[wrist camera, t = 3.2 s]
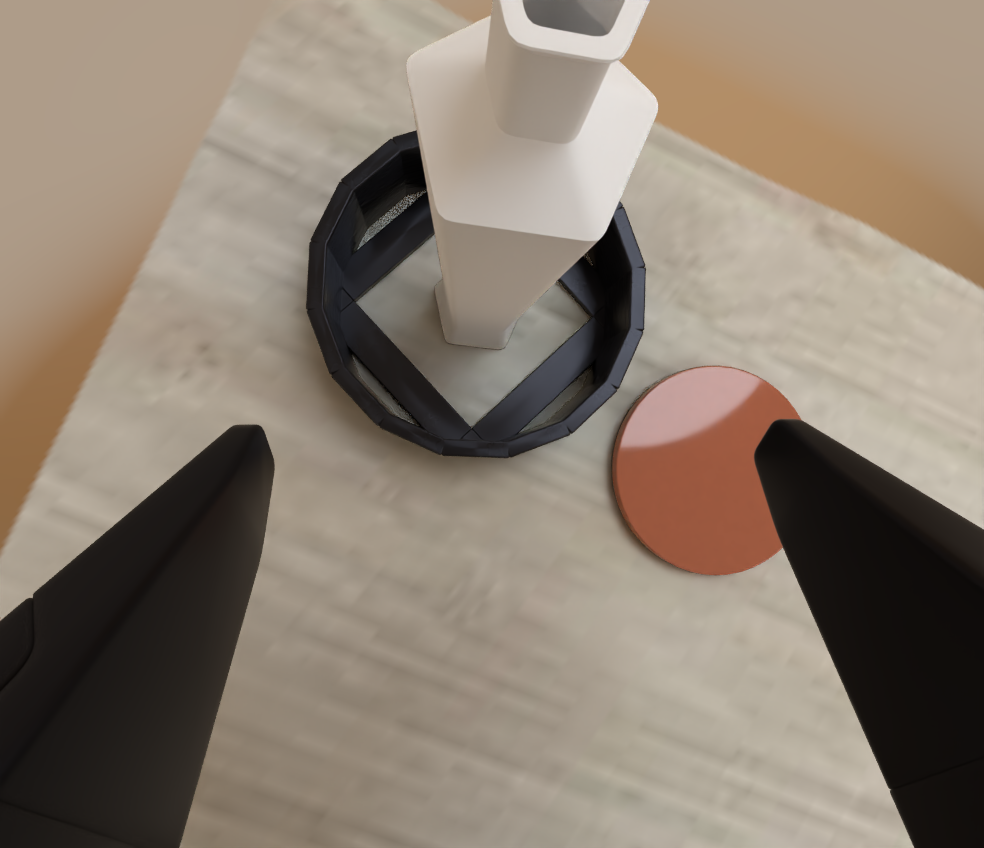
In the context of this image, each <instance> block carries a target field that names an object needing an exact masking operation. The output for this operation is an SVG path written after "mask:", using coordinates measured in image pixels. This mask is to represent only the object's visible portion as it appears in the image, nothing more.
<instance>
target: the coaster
mask: <svg viewBox="0 0 984 848" xmlns="http://www.w3.org/2000/svg"><path fill="white" fill-rule="evenodd" d="M778 419H799V420H801V418H800V417H799V415H798V413H797V412H796V410H795V409H794V407H793V406H792V405H791V404H790V402H789V401H788V400H787V399H786V398H785V397H784V396H783V395H782V394H781V393H780V392H779V391H778V390H777V389H776V388H774V387H773V386H772V385H771V384H769V383H768V382H766V381H765V380H763V379H761V378H759V377H758V376H756V375H753V374H751V373H749V372H746V371H744V370H740V369H736V368H732V367H725V366H702V367H695V368H691V369H688V370H684V371H681V372H677V373H675V374H672V375H670V376H668V377H666V378H664V379H662V380H661V381H659V382H657V383H656V384H654V385H653V386H652V387H650V388H649V389H648V390H647V391H646V392H645V393H643V394H642V396H641V397H640V398H639V399H638V400H637V401H636V402H635V403H634V405H633V406H632V407H631V409H630V410H629V412H628V413H627V415H626V417H625V419H624V421H623V423H622V425H621V427H620V429H619V432H618V435H617V438H616V442H615V446H614V451H613V459H612V480H613V486H614V492H615V496H616V499H617V503H618V506H619V508H620V511H621V513H622V515H623V517H624V519H625V521H626V523H627V524H628V526H629V528H630V529H631V531H632V532H633V533H634V535H635V536H636V537H637V538H638V540H639V541H640V542H641V543H642V544H643V545H644V546H645V547H647V548H648V549H649V550H650V551H651V552H653V553H654V554H655V555H657V556H658V557H659V558H661V559H663V560H665V561H667V562H669V563H670V564H672V565H674V566H676V567H679V568H681V569H684V570H687V571H690V572H694V573H699V574H706V575H727V574H732V573H737V572H742V571H745V570H747V569H750V568H753V567H755V566H757V565H759V564H761V563H763V562H765V561H766V560H768V559H769V558H771V557H772V556H773V555H775V554H776V553H777V552H778V551H779V550H781V549H782V548H783V546H782V544H781V542H780V539H779V537H778V534H777V531H776V528H775V526H774V523H773V520H772V516H771V513H770V510H769V507H768V504H767V501H766V497H765V494H764V491H763V488H762V485H761V482H760V478H759V475H758V472H757V469H756V466H755V462H754V453H755V449H756V447H757V446H758V444H759V443H760V441H761V439H762V438H763V436H764V435H765V433H766V431H767V430H768V428H769V426H770V425H771V424H772V423H773V422H774V421H775V420H778Z"/></svg>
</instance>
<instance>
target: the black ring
mask: <svg viewBox="0 0 984 848" xmlns="http://www.w3.org/2000/svg"><path fill="white" fill-rule="evenodd" d="M341 181H342V182H339V184H338V186H337V188H336V190H335V192H334V194H333V196H332V198H331V200H330V202H329V204H328V206H327V208H326V210H325V212H324V214H323V216H322V218H321V220H320V222H319V224H318V226H317V228H316V230H315V232H314V234H313V236H312V238H311V242H310V244H309V263H308V282H307V301H306V309H307V314H308V317H309V319H310V322H311V325H312V327H313V330H314V333H315V335H316V338H317V341H318V344H319V346H320V349H321V352H322V354H323V357H324V360H325V363H326V365H327V368H328V371H329V373H330V374H331V375H332V378H333V379H334V380H335V381H336V382H337V383H338V384H339V385H340V386H341V388H342V389H343V390H344V391H345V392H346V393H347V394H348V395H349V396H350V397H351V398H352V399H353V400H354V401H355V403H356V404H357V405H358V406H359V407H360V408H361V409H362V410H363V411H364V412H365V413H366V414H367V415H368V416H369V418H370V419H371V420H372V421H373V422H374V423H375V424H376V425H377V426H379V427H380V428H382V429H384V430H386V431H388V432H390V433H393V434H395V435H397V436H399V437H401V438H404V439H406V440H408V441H410V442H412V443H415V444H417V445H419V446H421V447H423V448H426V449H428V450H430V451H432V452H434V453H437V454H439V455H441V454H442V455H443V456H464V457H492V458H509V457H514V456H516V455H519V454H522V453H524V452H527V451H529V450H532V449H535V448H537V447H540V446H543V445H545V444H548V443H551V442H553V441H556V440H559V439H561V438H564V437H566V436H569V435H570V434H572V433H573V432H575V431H576V430H577V429H578V428H579V427H580V426H581V425H582V424H583V423H584V422H585V421H586V420H587V419H588V418H589V417H590V416H591V415H592V414H593V413H595V412H596V411H597V410H598V409H599V408H600V407H601V406H602V405H603V404H604V403H605V402H606V401H607V400H608V399H609V398H610V397H611V396H612V395H613V394H615V393H616V392H617V389H618V388H619V387H620V385H621V382H622V380H623V378H624V376H625V373H626V371H627V369H628V367H629V364H630V362H631V360H632V357H633V355H634V353H635V351H636V348H637V346H638V344H639V342H640V339H641V337H642V335H643V330H644V311H645V274H646V268H644V267H645V263H644V261H643V258H642V255H641V252H640V250H639V247H638V244H637V242H636V239H635V236H634V233H633V231H632V228H631V225H630V222H629V220H628V217H627V214H626V211H625V209H624V207H622V206H623V204H622V203H621V202H620V201H619V203H618V205H617V207H616V210H615V212H614V214H613V217H612V219H611V221H610V224H609V226H608V228H607V230H606V232H605V233H604V235H603V236H602V238H601V239H600V240H599V241H598V242H596V243H595V244H594V245H593V246H592V247H591V248H590V249H589V250H588V253H589V255H590V258H591V261H592V264H593V266H594V268H593V267H592V266H591V265H590V263H589V262H588V261H587V260H586V259H585V258H584V257H583V256H582V257H581V258H580V259H579V260H578V261H577V262H576V263H575V264H574V265H573V266H572V267H571V268H570V269H569V270H567V271H566V272H565V273H564V274H563V275H562V276H561V277H560V278H559V279H558V281H559V282H560V283H561V284H562V285H563V286H564V287H565V289H566V290H567V291H568V292H569V293H570V294H571V295H572V296H573V297H574V299H575V300H576V301H577V302H578V303H579V304H580V305H581V306H582V308H583V309H584V310H585V311H586V312H587V313H588V314H589V315H590V316H591V317H592V318H591V319H590V320H589V321H588V322H586V323H585V324H584V325H583V326H582V327H581V328H580V329H579V330H578V331H577V332H576V333H575V334H573V335H572V336H571V337H570V338H569V339H568V340H567V341H566V342H565V343H564V344H563V345H562V346H560V347H559V348H558V349H557V350H556V351H555V352H554V353H553V354H552V355H551V356H550V357H549V358H547V359H546V360H545V361H544V362H543V363H542V364H541V365H540V366H539V367H538V368H537V369H536V370H534V371H533V372H532V373H531V374H530V375H529V376H528V377H527V378H526V379H525V380H524V381H523V382H521V383H520V384H519V385H518V386H517V387H516V388H515V389H514V390H513V391H512V392H511V393H510V394H508V395H507V396H506V397H505V398H504V399H503V400H502V401H501V402H500V403H499V404H498V405H497V406H495V407H494V408H493V409H492V410H491V411H490V412H489V413H488V414H487V415H486V416H485V417H484V418H482V419H481V420H480V421H479V422H478V423H477V424H476V425H475V426H474V427H473V428H472V429H471V427H470V426H469V425H468V424H467V423H466V422H465V421H464V420H463V419H462V417H461V416H460V415H459V414H458V413H457V412H456V411H455V410H454V409H453V408H452V407H451V405H450V404H449V403H448V402H447V401H446V400H445V399H444V398H443V397H442V396H441V395H440V394H439V392H438V391H437V390H436V389H435V388H434V387H433V386H432V385H431V384H430V383H429V382H428V381H427V379H426V378H425V377H424V376H423V375H422V374H421V373H420V372H419V371H418V370H417V369H416V368H415V366H414V365H413V364H412V363H411V362H410V361H409V360H408V359H407V358H406V357H405V356H404V355H403V353H402V352H401V351H400V350H399V349H398V348H397V347H396V346H395V345H394V344H393V343H392V341H391V340H390V339H389V338H388V337H387V336H386V335H385V334H384V333H383V332H382V331H381V330H380V328H379V327H378V326H377V325H376V324H375V323H374V322H373V321H372V320H371V319H370V318H369V317H368V315H367V314H366V313H365V312H364V311H363V310H362V309H361V308H360V307H359V306H358V305H357V304H356V301H357V300H358V299H359V298H360V297H362V296H363V295H364V294H365V293H366V292H367V291H368V290H370V289H371V288H372V287H373V286H374V285H375V284H377V283H378V282H379V281H380V280H381V279H382V278H384V277H385V276H386V275H387V274H388V273H389V272H391V271H392V270H393V269H394V268H395V267H396V266H398V265H399V264H400V263H401V262H402V261H403V260H404V259H406V258H407V257H408V256H409V255H410V254H411V253H413V252H414V251H415V250H416V249H417V248H418V247H420V246H421V245H422V244H423V243H424V242H425V241H427V240H428V239H429V238H430V237H431V236H432V235H433V234H435V232H434V226H433V220H432V215H431V209H430V203H429V197H428V192H426V193H424V194H423V195H422V196H421V197H420V198H418V199H417V200H416V201H415V202H414V203H413V204H411V205H410V206H409V207H408V208H407V209H405V210H404V211H403V212H402V213H401V214H400V215H398V216H397V217H396V218H395V219H394V220H393V221H391V222H390V223H389V224H388V225H387V226H385V227H384V228H383V229H382V230H381V231H380V232H378V233H377V234H376V235H375V236H374V237H373V238H371V239H370V240H369V241H368V242H367V243H365V244H364V245H363V246H362V247H361V248H360V249H358V250H357V248H358V246H359V244H360V242H361V240H362V238H363V236H364V234H365V232H366V230H367V228H368V227H369V226H371V225H372V224H373V223H374V222H375V221H377V220H378V219H379V218H380V217H381V216H383V215H384V214H385V213H386V212H387V211H388V210H390V209H391V208H392V207H393V206H394V205H396V204H397V203H398V202H399V201H400V200H401V199H403V198H404V197H405V196H406V195H409V194H412V193H416V192H419V191H422V190H425V189H427V186H426V180H425V175H424V169H423V163H422V157H421V152H420V146H419V140H418V134H417V130H416V131H413V132H409V133H406V134H403V135H399V136H396V137H393V140H392V139H390V140H388V141H387V142H386V143H385V144H384V145H382V146H381V147H380V148H379V149H378V150H376V151H375V152H374V153H373V154H372V155H370V156H369V157H368V158H367V159H365V160H364V161H363V162H362V163H361V164H359V165H358V166H357V167H356V168H355V169H353V170H352V171H351V172H350V173H349V174H347V175H346V176H345V177H344V178H343V179H342V180H341ZM356 250H357V251H356ZM349 348H350V349H349ZM350 350H351V351H352V352H353V353H354V354H355V355H356V356H357V357H358V358H359V359H360V360H361V361H362V362H363V364H364V365H365V366H366V367H367V368H368V369H369V370H370V371H371V372H372V373H373V374H374V375H375V376H376V378H377V379H378V380H379V381H380V382H381V383H382V384H383V385H384V386H385V387H386V388H387V389H388V391H389V392H390V393H391V394H392V395H393V396H394V397H395V398H396V399H397V400H398V401H399V402H400V403H401V405H402V406H403V407H404V408H405V409H406V410H407V411H408V412H409V413H410V414H411V415H412V416H413V417H414V419H415V420H416V421H417V422H418V423H419V424H420V425H421V426H422V427H423V428H424V429H423V428H421V427H418V426H416V425H414V424H412V423H410V422H408V421H405V420H403V419H401V418H399V417H397V416H395V415H394V414H393V413H392V412H391V411H390V409H389V408H388V407H387V406H386V405H385V404H384V403H383V402H382V401H381V400H380V399H379V398H378V397H377V395H376V394H375V393H374V392H373V391H372V390H371V389H370V388H369V387H368V386H367V385H366V384H365V383H364V382H363V380H362V379H361V378H360V377H359V374H358V371H357V368H356V366H355V363H354V360H353V358H352V355H351V352H350ZM592 363H593V364H592ZM591 364H592V367H591V369H590V371H589V373H588V376H587V378H586V380H585V382H584V384H583V387H582V389H581V390H580V391H579V392H578V393H577V394H576V395H574V396H573V397H572V398H571V399H570V400H569V401H568V402H567V403H566V404H565V405H564V406H563V407H562V408H561V409H560V410H558V411H557V412H556V413H555V414H554V415H553V416H552V417H551V418H550V419H549V420H548V421H547V422H546V423H544V424H542V425H539V426H536V427H534V428H531V429H528V430H526V431H523V432H520V431H521V430H522V429H523V428H524V427H525V426H526V425H527V424H528V423H529V422H530V421H531V420H532V419H533V418H535V417H536V416H537V415H538V414H539V413H540V412H541V411H542V410H543V409H544V408H545V407H546V406H547V405H548V404H549V403H551V402H552V401H553V400H554V399H555V398H556V397H557V396H558V395H559V394H560V393H561V392H562V391H563V390H564V389H566V388H567V387H568V386H569V385H570V384H571V383H572V382H573V381H574V380H575V379H576V378H577V377H578V376H579V375H580V374H582V373H583V372H584V371H585V370H586V369H587V368H588V367H589V366H590V365H591ZM519 432H520V433H519Z"/></svg>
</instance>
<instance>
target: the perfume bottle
mask: <svg viewBox="0 0 984 848" xmlns="http://www.w3.org/2000/svg"><path fill="white" fill-rule="evenodd" d="M649 1H650V0H493V4H492V11H491V15H490V16H488V17H486V18H484V19H482V20H480V21H478V22H476V23H474V24H472V25H470V26H468V27H465V28H463V29H461V30H459V31H457V32H455V33H453V34H451V35H449V36H447V37H445V38H443V39H441V40H438V41H436V42H434V43H432V44H430V45H428V46H426V47H424V48H422V49H420V50H418V51H416V52H415V53H413V54H412V55H410V56H409V58H408V61H407V63H406V70H407V77H408V83H409V89H410V94H411V100H412V106H413V112H414V117H415V123H416V129H417V134H418V140H419V146H420V152H421V157H422V163H423V169H424V175H425V180H426V186H427V192H428V197H429V203H430V209H431V215H432V220H433V226H434V232H435V238H436V243H437V249H438V255H439V260H440V266H441V272H442V278H443V279H442V280H441V281H440V282H439V283H438V284H437V285H436V286H435V295H436V300H437V305H438V309H439V314H440V319H441V323H442V328H443V332H444V337H445V340H446V341H447V342H448V343H451V344H457V345H465V346H474V347H482V348H491V349H503V348H505V346H506V345H507V342H508V340H509V338H510V336H511V333H512V331H513V329H514V326H515V324H516V322H517V320H518V318H519V317H520V316H521V315H522V314H523V313H524V312H525V311H526V310H527V309H528V308H529V307H530V306H531V305H532V304H533V303H534V302H535V301H536V300H537V299H538V298H540V297H541V296H542V295H543V294H544V293H545V292H546V291H547V290H548V289H549V288H550V287H551V286H552V285H553V284H554V283H555V282H556V281H557V280H558V279H559V278H560V277H561V276H562V275H563V274H564V273H565V272H566V271H567V270H569V269H570V268H571V267H572V266H573V265H574V264H575V263H576V262H577V261H578V260H579V259H580V258H581V257H582V256H583V255H584V254H585V253H586V252H587V251H588V250H589V249H590V248H591V247H592V246H593V245H594V244H595V243H596V242H598V241H599V240H600V239H601V238H602V236H603V235H604V233H605V232H606V230H607V228H608V226H609V224H610V221H611V219H612V217H613V214H614V212H615V210H616V207H617V205H618V203H619V201H620V198H621V196H622V194H623V191H624V189H625V187H626V184H627V182H628V180H629V177H630V175H631V173H632V170H633V168H634V166H635V164H636V161H637V159H638V157H639V154H640V152H641V150H642V147H643V145H644V143H645V140H646V138H647V136H648V134H649V131H650V129H651V127H652V124H653V122H654V120H655V117H656V115H657V111H658V103H657V99H656V98H655V96H654V95H653V94H652V93H651V91H649V90H648V89H647V88H646V87H645V86H644V85H643V84H642V83H641V82H640V81H639V80H638V79H637V78H636V77H635V76H634V75H633V74H632V73H631V72H630V71H629V70H627V68H626V67H625V66H624V65H623V64H622V63H621V62H620V61H619V59H621V58H622V57H623V56H624V55H625V53H626V51H627V50H628V49H629V46H630V44H631V42H632V40H633V37H634V35H635V33H636V31H637V28H638V26H639V24H640V22H641V19H642V17H643V15H644V12H645V10H646V8H647V5H648V4H649Z"/></svg>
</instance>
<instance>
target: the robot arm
mask: <svg viewBox="0 0 984 848" xmlns="http://www.w3.org/2000/svg"><path fill="white" fill-rule="evenodd" d="M754 462H755V466H756V469H757V472H758V475H759V478H760V482H761V485H762V488H763V491H764V494H765V497H766V501H767V504H768V507H769V510H770V513H771V516H772V520H773V523H774V526H775V528H776V531H777V534H778V537H779V539H780V542H781V544H782V546H783V549H784V551H785V553H786V556H787V558H788V560H789V562H790V565H791V567H792V569H793V571H794V574H795V576H796V578H797V581H798V583H799V585H800V587H801V590H802V592H803V594H804V597H805V599H806V601H807V603H808V606H809V608H810V610H811V613H812V615H813V617H814V619H815V622H816V624H817V626H818V628H819V631H820V633H821V635H822V638H823V640H824V642H825V644H826V647H827V649H828V651H829V654H830V656H831V658H832V660H833V663H834V665H835V667H836V669H837V672H838V674H839V676H840V679H841V681H842V683H843V685H844V688H845V690H846V692H847V695H848V697H849V699H850V701H851V704H852V706H853V708H854V710H855V713H856V715H857V717H858V720H859V722H860V724H861V726H862V729H863V731H864V733H865V736H866V738H867V740H868V742H869V745H870V747H871V749H872V752H873V754H874V756H875V758H876V761H877V763H878V765H879V767H880V770H881V772H882V774H883V777H884V779H885V781H886V783H887V786H888V788H889V789H891V790H890V793H891V796H892V798H893V800H894V802H895V805H896V807H897V809H898V812H899V814H900V816H901V818H902V821H903V823H904V825H905V828H906V830H907V832H908V834H909V837H910V839H911V841H912V844H913V846H914V848H984V530H983V529H982V528H980V527H978V526H977V525H975V524H973V523H972V522H970V521H968V520H967V519H965V518H963V517H962V516H960V515H958V514H957V513H955V512H953V511H952V510H950V509H948V508H947V507H945V506H943V505H942V504H940V503H938V502H937V501H935V500H934V499H932V498H930V497H929V496H927V495H925V494H924V493H922V492H920V491H919V490H917V489H915V488H914V487H912V486H910V485H909V484H907V483H905V482H904V481H902V480H900V479H899V478H897V477H895V476H894V475H892V474H890V473H889V472H887V471H885V470H884V469H882V468H880V467H879V466H877V465H875V464H874V463H872V462H870V461H869V460H867V459H865V458H864V457H862V456H860V455H859V454H857V453H855V452H854V451H852V450H850V449H849V448H847V447H845V446H844V445H842V444H840V443H839V442H837V441H835V440H834V439H832V438H830V437H829V436H827V435H825V434H824V433H822V432H820V431H819V430H817V429H815V428H814V427H812V426H810V425H809V424H807V423H805V422H804V421H802V420H799V419H778V420H775V421H774V422H773V423H772V424H771V425H770V426H769V428H768V430H767V431H766V433H765V435H764V436H763V438H762V439H761V441H760V443H759V444H758V446H757V447H756V449H755V453H754ZM274 470H275V465H274V458H273V455H272V452H271V449H270V447H269V444H268V441H267V438H266V435H265V432H264V430H263V428H262V427H261V426H259V425H234V426H232V427H231V428H229V429H228V430H227V431H226V432H224V433H223V434H222V435H221V436H220V437H218V438H217V439H216V440H215V441H214V442H212V443H211V444H210V445H209V446H208V447H207V448H205V449H204V450H203V451H202V452H201V453H199V454H198V455H197V456H196V457H195V458H194V459H192V460H191V461H190V462H189V463H188V464H186V465H185V466H184V467H183V468H182V469H180V470H179V471H178V472H177V473H176V474H175V475H173V476H172V477H171V478H170V479H169V480H167V481H166V482H165V483H164V484H163V485H161V486H160V487H159V488H158V489H157V490H156V491H154V492H153V493H152V494H151V495H150V496H148V497H147V498H146V499H145V500H144V501H142V502H141V503H140V504H139V505H138V506H137V507H135V508H134V509H133V510H132V511H131V512H129V513H128V514H127V515H126V516H125V517H124V518H122V519H121V520H120V521H119V522H118V523H116V524H115V525H114V526H113V527H112V528H110V529H109V530H108V531H107V532H106V533H105V534H103V535H102V536H101V537H100V538H99V539H97V540H96V541H95V542H94V543H93V544H91V545H90V546H89V547H88V548H87V549H86V550H84V551H83V552H82V553H81V554H80V555H78V556H77V557H76V558H75V559H74V560H72V561H71V562H70V563H69V564H68V565H67V566H65V567H64V568H63V569H62V570H61V571H59V572H58V573H57V574H56V575H55V576H53V577H52V578H51V579H50V580H49V581H48V582H46V583H45V584H44V585H43V586H42V587H40V588H39V589H38V590H37V591H36V592H35V593H34V594H33V598H28V599H26V600H25V601H24V602H22V603H21V604H20V605H19V606H18V607H16V608H15V609H14V610H13V611H12V612H10V613H9V614H8V615H7V616H6V617H5V618H3V619H2V620H1V621H0V848H179V847H180V843H181V840H182V836H183V833H184V829H185V826H186V822H187V819H188V815H189V811H190V808H191V804H192V801H193V797H194V794H195V790H196V787H197V783H198V779H199V776H200V772H201V769H202V765H203V762H204V758H205V755H206V751H207V747H208V744H209V740H210V737H211V733H212V730H213V726H214V723H215V719H216V715H217V712H218V708H219V705H220V701H221V698H222V694H223V691H224V687H225V683H226V680H227V676H228V673H229V669H230V666H231V662H232V659H233V655H234V651H235V648H236V644H237V641H238V637H239V634H240V630H241V627H242V623H243V619H244V616H245V612H246V609H247V605H248V602H249V598H250V595H251V591H252V587H253V584H254V580H255V577H256V573H257V570H258V566H259V562H260V558H261V554H262V549H263V543H264V537H265V531H266V524H267V517H268V511H269V504H270V497H271V491H272V484H273V478H274Z"/></svg>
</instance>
